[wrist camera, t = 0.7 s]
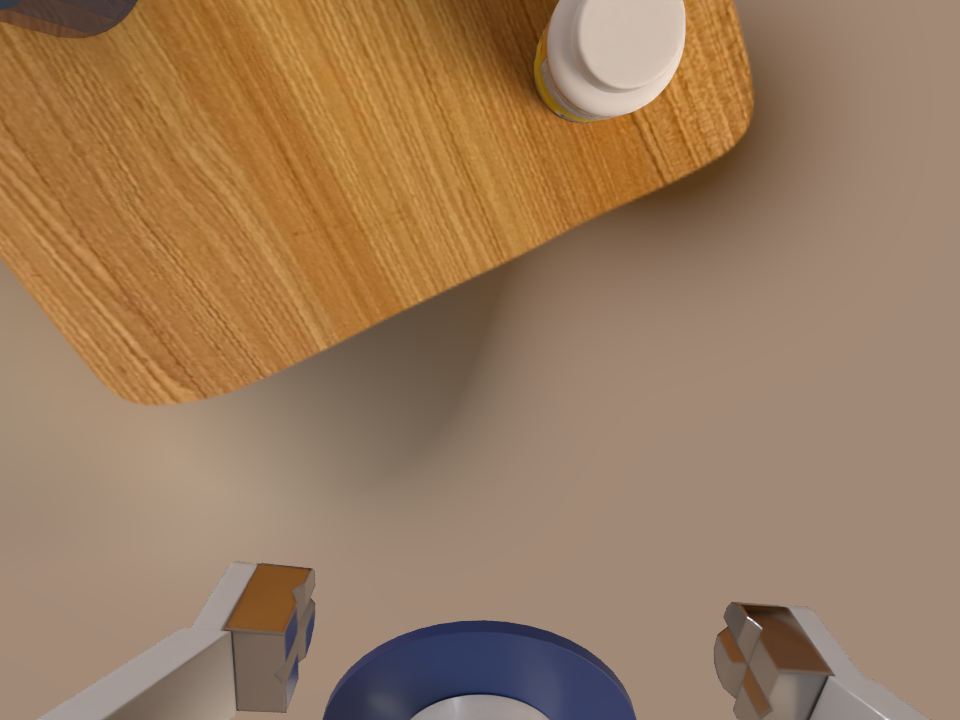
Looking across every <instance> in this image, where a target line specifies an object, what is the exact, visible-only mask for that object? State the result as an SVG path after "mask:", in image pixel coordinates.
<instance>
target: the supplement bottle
mask: <svg viewBox="0 0 960 720" xmlns="http://www.w3.org/2000/svg"><path fill="white" fill-rule="evenodd" d="M685 26H686V20H685V8H684V4H683V0H559V2H558V4H557V6H556V7H555V9H554V11H553V13H552V15H551V17H550V19H549V21H548V23H547V25H546V27H545V29H544V31H543V33H542V35H541V37H540V39H539V41H538V44H537V47H536V50H535V54H534V60H533V76H534V82H535V86H536V89H537V91H538V94H539V96H540V98H541V99H542V101H543V102H544V104H545V105H546V106H547V107H548V108H549V109H550V110H551V111H552V112H553V113H554V114H556V115H557V116H559V117H561V118H562V119H565V120H567V121H571V122H576V123H589V122H595V121H600V120H604V119H608V118H612V117H616V116H621V115H625V114H628V113H631V112H633V111H636V110H638V109H640V108H641V107H643V106H645V105H646V104H648V103H649V102H651V101H652V100H653V99H654V98H656V97H657V96H658V95H659V94H660V93H661V92H662V91H663V89H664V88H665V87H666V86H667V84H668V83H669V82H670V80H671V78H672V77H673V75H674V73H675V71H676V69H677V67H678V65H679V62H680V59H681V56H682V53H683V49H684V43H685V32H686V28H685Z"/></svg>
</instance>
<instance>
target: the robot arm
mask: <svg viewBox="0 0 960 720" xmlns="http://www.w3.org/2000/svg"><path fill="white" fill-rule="evenodd" d="M314 587H315V571H314V570H313V569H312V568H303V567H293V566H283V565H274V564H264V563H261V564H258V563H249V562H240V561H234V562H233V563H232V564H231V565H229V566H228V568H227V569H226V571H225V572H224V574H223V576H222V577H221V579H220V581H219V582H218V584H217V586H216V587H215V589H214V591H213V592H212V594H211V595H210V597H209V599H208V600H207V602H206V604H205V605H204V607H203V609H202V610H201V612H200V614H199V615H198V617H197V618H196V620H195V622H194V623H193V625H192V627H191V628H181V629H179V630H178V631H176V632H175V633H173V634H171V635H170V636H168V637H167V638H165V639H164V640H162V641H160V642H159V643H157V644H156V645H154V646H153V647H151V648H149V649H148V650H146V651H145V652H143V653H141V654H140V655H138V656H137V657H135V658H134V659H132V660H130V661H129V662H127V663H126V664H124V665H122V666H121V667H119V668H118V669H116V670H115V671H113V672H111V673H110V674H108V675H107V676H105V677H104V678H102V679H100V680H99V681H97V682H95V683H94V684H92V685H91V686H89V687H88V688H86V689H85V690H83V691H81V692H80V693H78V694H77V695H75V696H73V697H72V698H70V699H69V700H67V701H66V702H64V703H62V704H61V705H59V706H58V707H56V708H54V709H53V710H51V711H50V712H48V713H47V714H45V715H43V716H42V717H40V718H39V719H37V720H231V719H232V718H233V717H234V716H235V715H236V714H237V713H236V711H257V712H281V713H286V712H287V709H288V706H289V703H290V701H291V698H292V695H293V692H294V689H295V686H296V683H297V681H298V663H299V662H300V661H301V660H302V659H304V658H305V657H306V654H307V651H308V648H309V645H310V642H311V637H312V632H313V627H314V620H315V602H314V601H313V600H312V599H311V595H312V592H313V590H314ZM724 619H725V621H726V623H727V625H728V627H727V628H725V629H724V630H723V631H721V632H720V633H719V634H718V635H717V638H716V642H715V646H714V664H715V668H716V671H717V675H718V678H719V680H720V682H721V684H722V687H723V688H724V689H725V690H726V691H727V692H728V693H730V694H731V695H732V696H733V697H734V698H735V699H736V701H735V705H734V708H733V711H734V713H735V715H736V717H737V719H738V720H931V719H930V718H928V717H927V716H925V715H923V714H922V713H921V712H919V711H918V710H917V709H915V708H914V707H912V706H911V705H909V704H908V703H906V702H905V701H904V700H902V699H901V698H899V697H897V696H896V695H895V694H893V693H892V692H891V691H889V690H888V689H886V688H885V687H883V686H882V685H880V684H879V683H878V682H876V681H875V680H872V679H865V678H864V677H863V675H862V674H861V673H860V671H859V670H858V669H857V667H856V666H855V665H854V663H853V662H852V661H851V659H850V658H849V657H848V656H847V654H846V653H845V651H844V650H843V648H842V647H841V646H840V645H839V643H838V642H837V640H836V639H835V638H834V637H833V635H832V634H831V632H830V631H829V630H828V628H827V627H826V626H825V624H824V623H823V622H822V621H821V619H820V618H819V616H818V615H817V614H816V612H815V611H813V610H812V609H810V608H809V607H804V606H803V607H802V606H788V605H782V606H780V605H768V604H754V603H741V602H731V603H730V604H729V605H728V607H727V608H726V611H725V614H724ZM410 720H550V719H549V718H548V717H546V716H545V715H544V714H543V713H541V712H540V711H538V710H537V709H535V708H533V707H532V706H530V705H528V704H525V703H523V702H520V701H517V700H514V699H511V698H506V697H502V696H495V695H466V696H459V697H454V698H450V699H446V700H443V701H440V702H437V703H435V704H433V705H431V706H429V707H427V708H425V709H423V710H422V711H420V712H419V713H417V714H416V715H415V716H414V717H413V718H411V719H410Z"/></svg>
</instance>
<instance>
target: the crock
mask: <svg viewBox="0 0 960 720" xmlns="http://www.w3.org/2000/svg"><path fill="white" fill-rule="evenodd" d="M137 1H138V0H0V22H1V23H5V24H8V25H12V26H16V27H20V28H23V29H27V30H31V31H35V32H39V33H44V34H48V35H52V36H56V37H62V38H85V37H90V36H95V35H98V34H100V33H103V32H106V31H107V30H109V29H111V28H112V27H114V26H116V25H117V24H118V23H119V22H121V21H122V20H123V19H124V18H125V17H126V16H127V15H128V14H129V12H130V11H131V10H132V9H133V7H134V6H135V4H136V2H137Z"/></svg>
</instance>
